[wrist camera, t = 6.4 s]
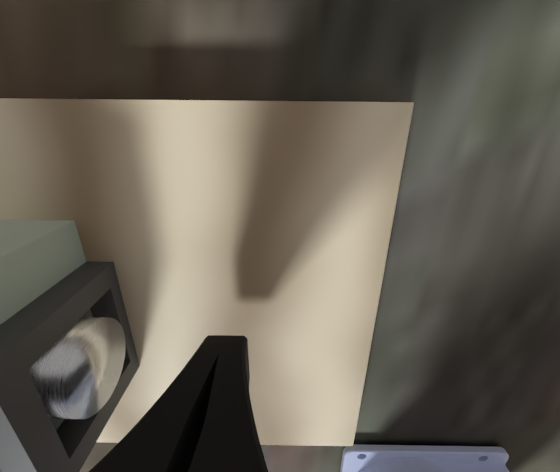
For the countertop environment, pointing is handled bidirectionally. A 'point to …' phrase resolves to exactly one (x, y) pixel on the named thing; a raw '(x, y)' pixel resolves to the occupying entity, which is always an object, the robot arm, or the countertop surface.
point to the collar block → (49, 340)
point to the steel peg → (81, 368)
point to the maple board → (226, 236)
